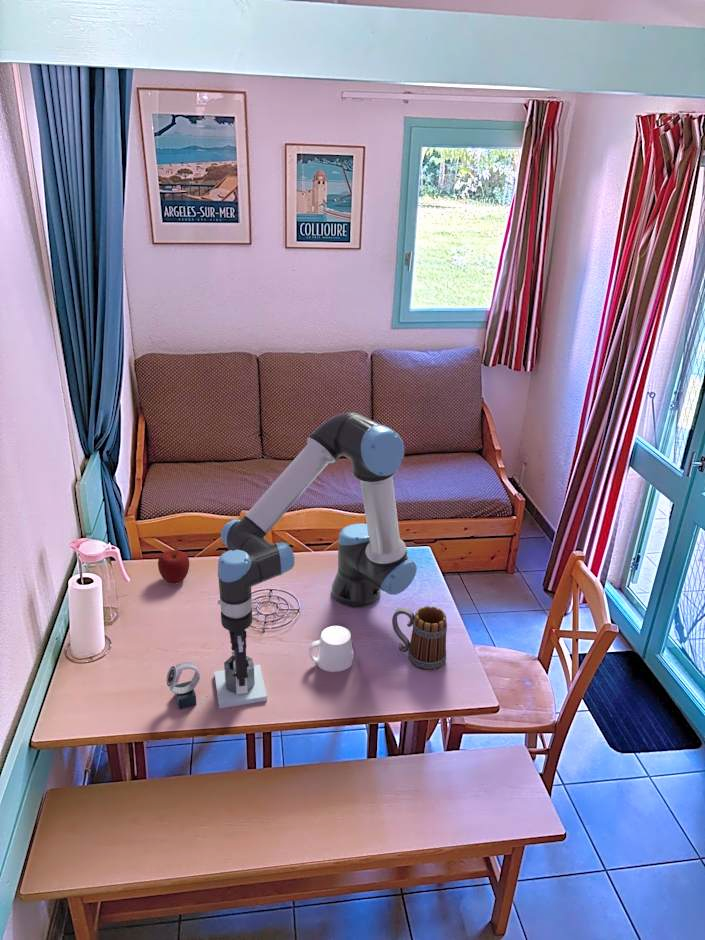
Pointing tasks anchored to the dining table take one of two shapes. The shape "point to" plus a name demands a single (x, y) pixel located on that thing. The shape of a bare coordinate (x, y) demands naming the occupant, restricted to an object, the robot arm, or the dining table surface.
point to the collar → (229, 672)
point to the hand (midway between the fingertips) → (240, 681)
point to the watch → (183, 685)
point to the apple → (173, 566)
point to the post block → (234, 699)
